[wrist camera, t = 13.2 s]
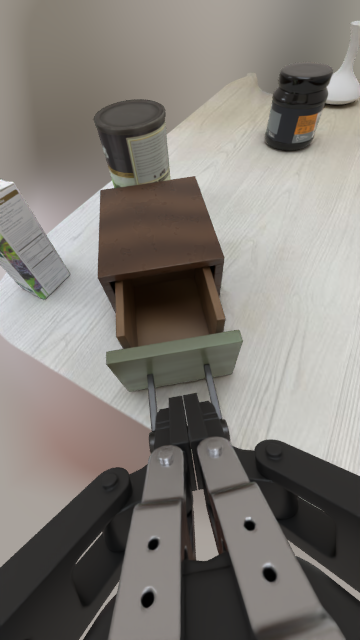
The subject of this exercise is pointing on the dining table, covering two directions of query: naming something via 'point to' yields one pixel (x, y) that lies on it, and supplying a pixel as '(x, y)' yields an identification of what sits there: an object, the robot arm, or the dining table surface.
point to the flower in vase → (346, 73)
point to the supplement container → (297, 105)
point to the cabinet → (155, 233)
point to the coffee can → (134, 142)
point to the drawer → (172, 335)
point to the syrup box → (27, 246)
